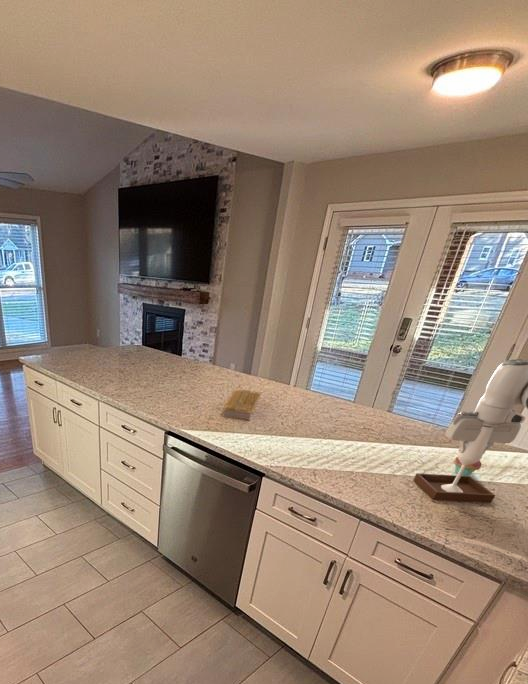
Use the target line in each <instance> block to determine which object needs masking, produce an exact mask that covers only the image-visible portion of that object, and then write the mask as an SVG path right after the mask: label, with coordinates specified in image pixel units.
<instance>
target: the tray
mask: <svg viewBox="0 0 528 684" xmlns="http://www.w3.org/2000/svg"><path fill="white" fill-rule="evenodd" d="M456 476H457V474H455V475H454V474H451V475H450V474H439V473H438V474H436V473H418V472H417V473H415V476H414V478H413V480H412V481H413V482H414V483H415V484H416V485H417V486H418V487H419V488H420V489H421V490H423V492H424V493H426V495H428V496H429V497H430V498H431V500H433V501H449V502H468V503H483V504H484V503H486V504H491V503H492V502H493V500H494V499H495V497H496V494H494V493H493V492H492V491H491V490H490V489H488V488H487V487H485V486H484V485H483V484H481V483H480V482H479V481H477V480H476V479H475V478H474V477H473V476H471V475H469V476H462V475H461V477H460V479H459V481H458V483H457V486H458V487H459V488H460V489H461V490H462V491H463V493H461V492H447V491H445V490H443V489H442V488H441V486H442V485H446V484H453V482H454V480H455V478H456Z"/></svg>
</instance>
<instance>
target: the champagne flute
mask: <svg viewBox="0 0 528 684" xmlns="http://www.w3.org/2000/svg"><path fill="white" fill-rule="evenodd" d="M493 428H494V427H484V426H483V427H482V428H481V432H480V434H479V435H478V437H477V438H476V440H475V441H468V443H467V444H465V448H466V449H465V451H464V452H463V453H460V452H458V451H457V453H456V454H457V456H456V457H458V459H459V461H460V462H461V463H462V466H461V468H460V470H459V472H458V474H457V473H456V475H457V476H456V478H455V480H454V482H453V484H446V485H442V486H441V488H442V489H443V490H445V491H447V492H461V493H463V491H462V490H461V489H460V488H459V487H458V486H457V483H458V481H459V479H460V477H461V476H462V473H463V471H464V469H465V467H466V465H471V464H474V463H476V462H478V461H480V462H481V460H482V458H483V455H484V454H485V453H484V451H485V448H486V446H487V443H488V441H489V438H490V436H491V433H492V431H493ZM485 452H486V451H485ZM483 453H484V454H483Z"/></svg>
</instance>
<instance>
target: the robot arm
mask: <svg viewBox="0 0 528 684" xmlns="http://www.w3.org/2000/svg"><path fill="white" fill-rule="evenodd" d="M517 405H522V406H524V407H525V408H526V409H527V410H528V359H522V358H520V359H519V358H518V359H516V358H515V359H509V360H505V361H503V362H501V364H500V365H498V367H497V368H496V370H495V371H494V373H493V374H492V376H491V378H490V379H489V381H488V382H487V385H486V387H485V392H484V394H483V396H482V397H481V398H480V399H479V401H478V403H477V405H476V407H475V408H474V411H462V412H459V413H458V414H456V415H455V416H454V418H453V420H452V422H451V424H450V425H449V426H448V428H447V430H446V432H445V436H446V438H447V439H449V440H450V441H458V443H459V444H458V445H459V448H458V449H457V450H458V451H457V453H458V452H460V453H463V452H464V451H465V449H466V448H465V444H467V443H468V441H475V440H476V438H477V437H478V435H479V434H480V432H481V428H482V427H483V426H484V427H494V428H493V431H492V433H491V436H490V438H489V441H488V443H487V446H486V448H485V451H484V453H483V455H485V453H486V451H487V450H488V449H490V448H491V447H493V446H494V444H510V443H512V442H514V441H515V439H516V438H517V436H518V434H519V433H520V430H521V427H522V425H521V424H523V423H524V421H525V419H526V416H524V415H522V414H521V413H519V412H516V410H514V408H515V407H516V406H517Z"/></svg>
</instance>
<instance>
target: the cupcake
mask: <svg viewBox="0 0 528 684" xmlns="http://www.w3.org/2000/svg"><path fill="white" fill-rule="evenodd" d="M453 464H455V467H454V473H455V474H456V475H457V474H458V472H459V470H460V468H461V466H462V463H461V462H460V461H459V459H458V456H456V457H455V459H454V460H453ZM481 467H482V462H481V460H480V461H478V462H476V463H474V464H471V465H466V467H465V469H464V471H463V473H462V475H461V476H471V475H472V474H473V473H474V472H475V471H479V470H481Z"/></svg>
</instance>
